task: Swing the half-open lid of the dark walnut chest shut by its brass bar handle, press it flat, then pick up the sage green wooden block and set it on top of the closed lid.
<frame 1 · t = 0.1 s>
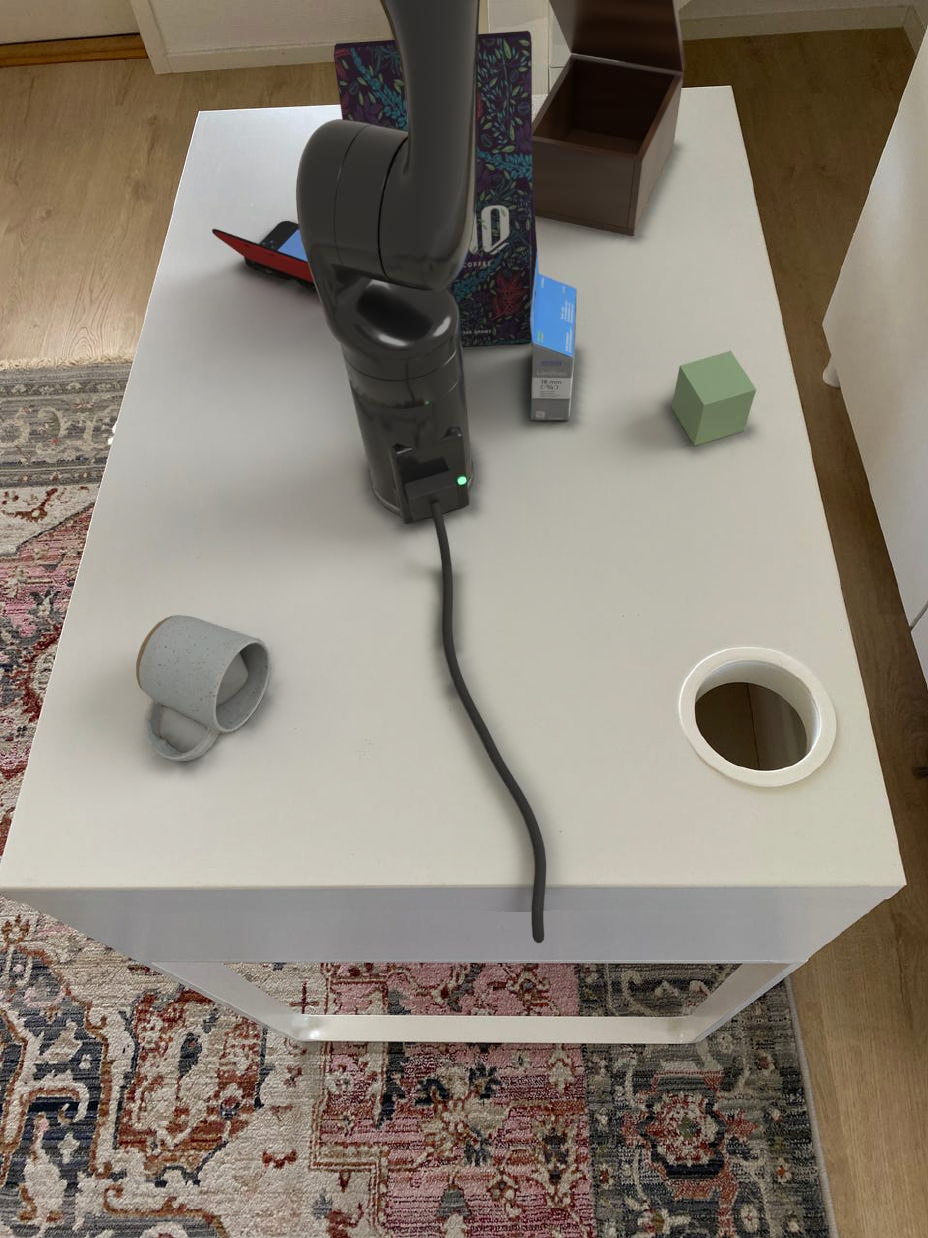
chest: (599, 180, 106), on the table
handheld console: (303, 274, 101), on the table
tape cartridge: (552, 388, 91), on the table
ceramic mug: (211, 706, 76), on the table
coffee bag: (455, 322, 96), on the table
block: (707, 419, 88), on the table
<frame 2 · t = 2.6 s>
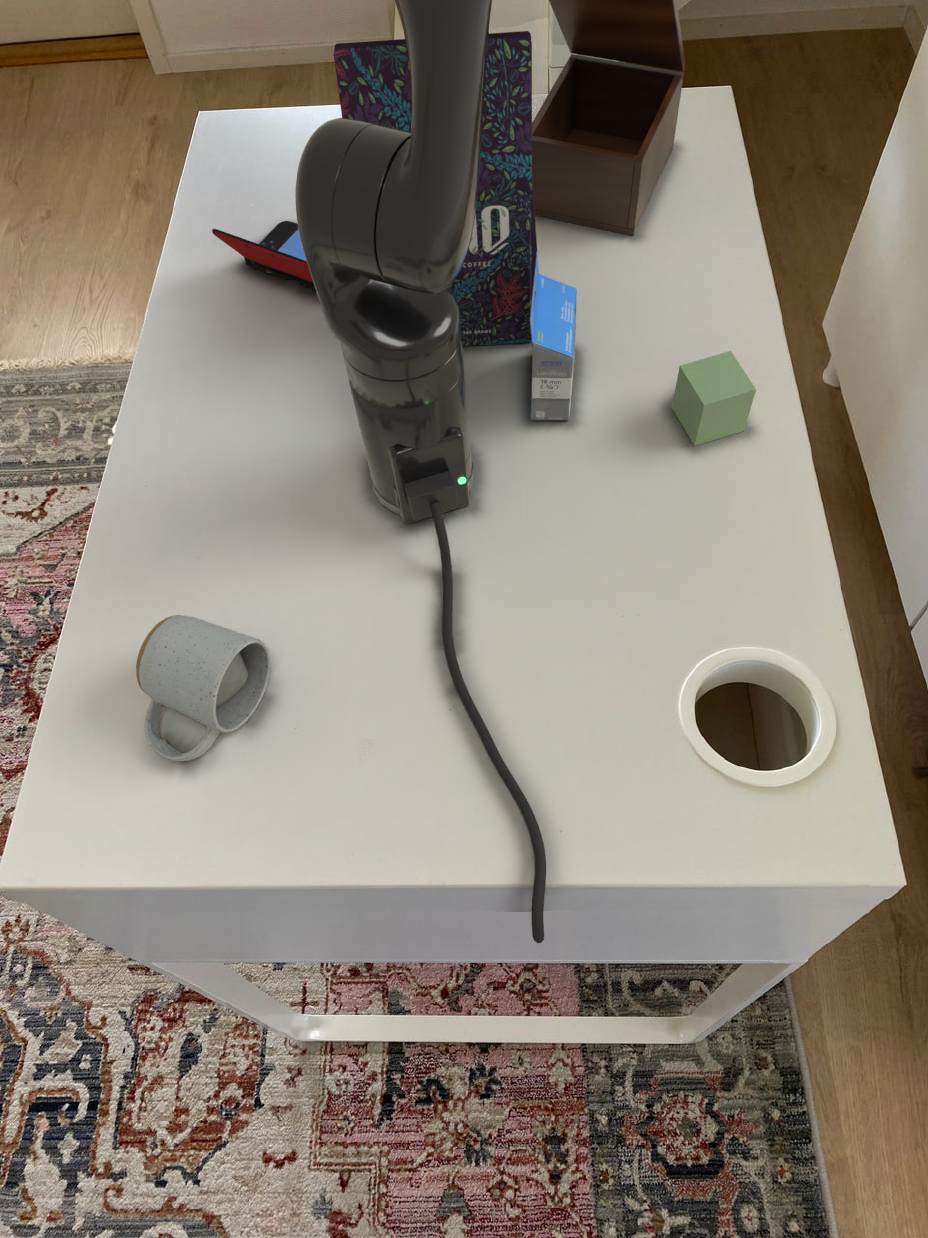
everything else where it was.
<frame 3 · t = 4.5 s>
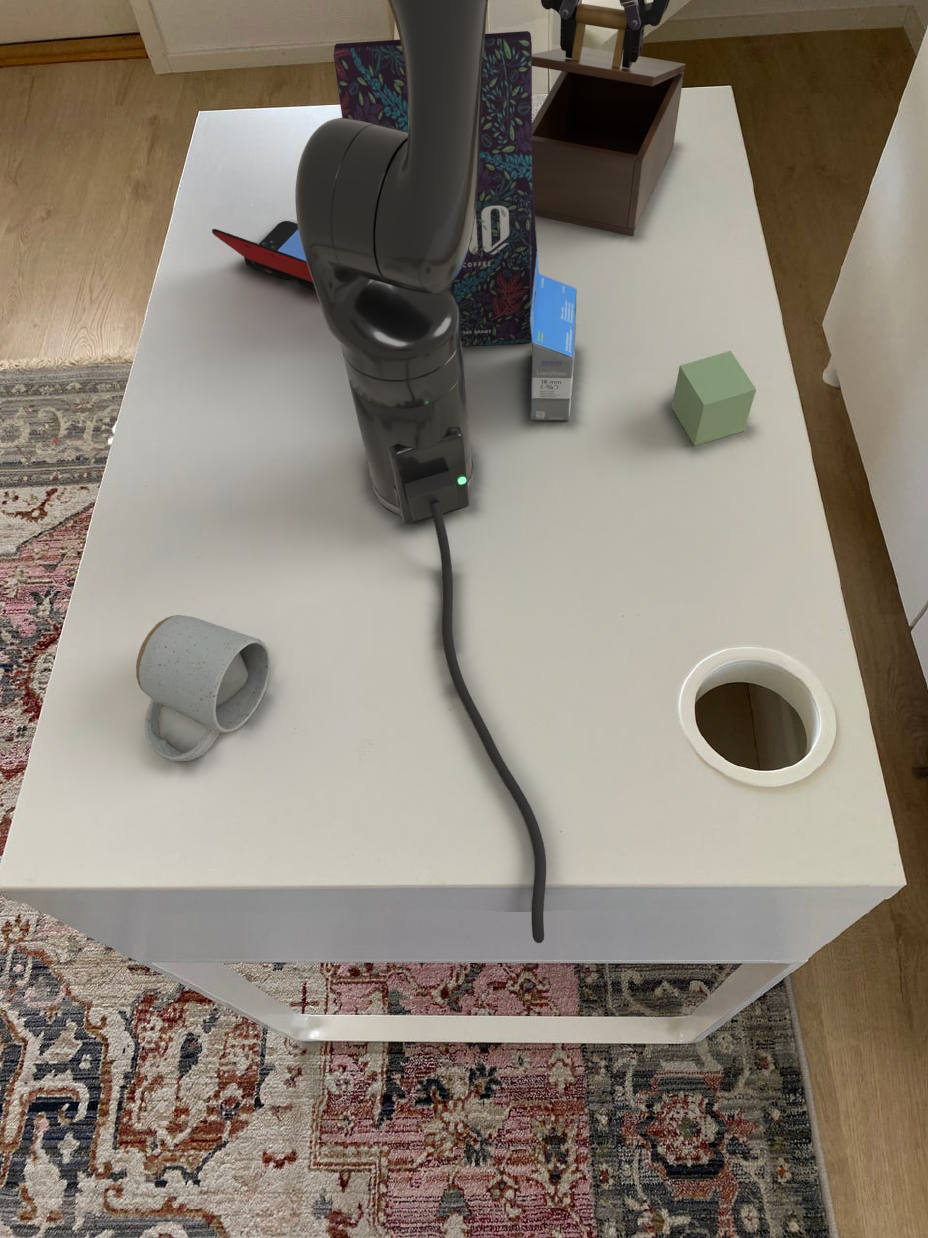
hand: (600, 57, 91), 15 cm above the table, tool pointing down, fingers closed on lid, 5 cm apart
lid: (613, 37, 93), point 15 cm above the table, hinge at 25.5°, touching gripper
everything else where it was.
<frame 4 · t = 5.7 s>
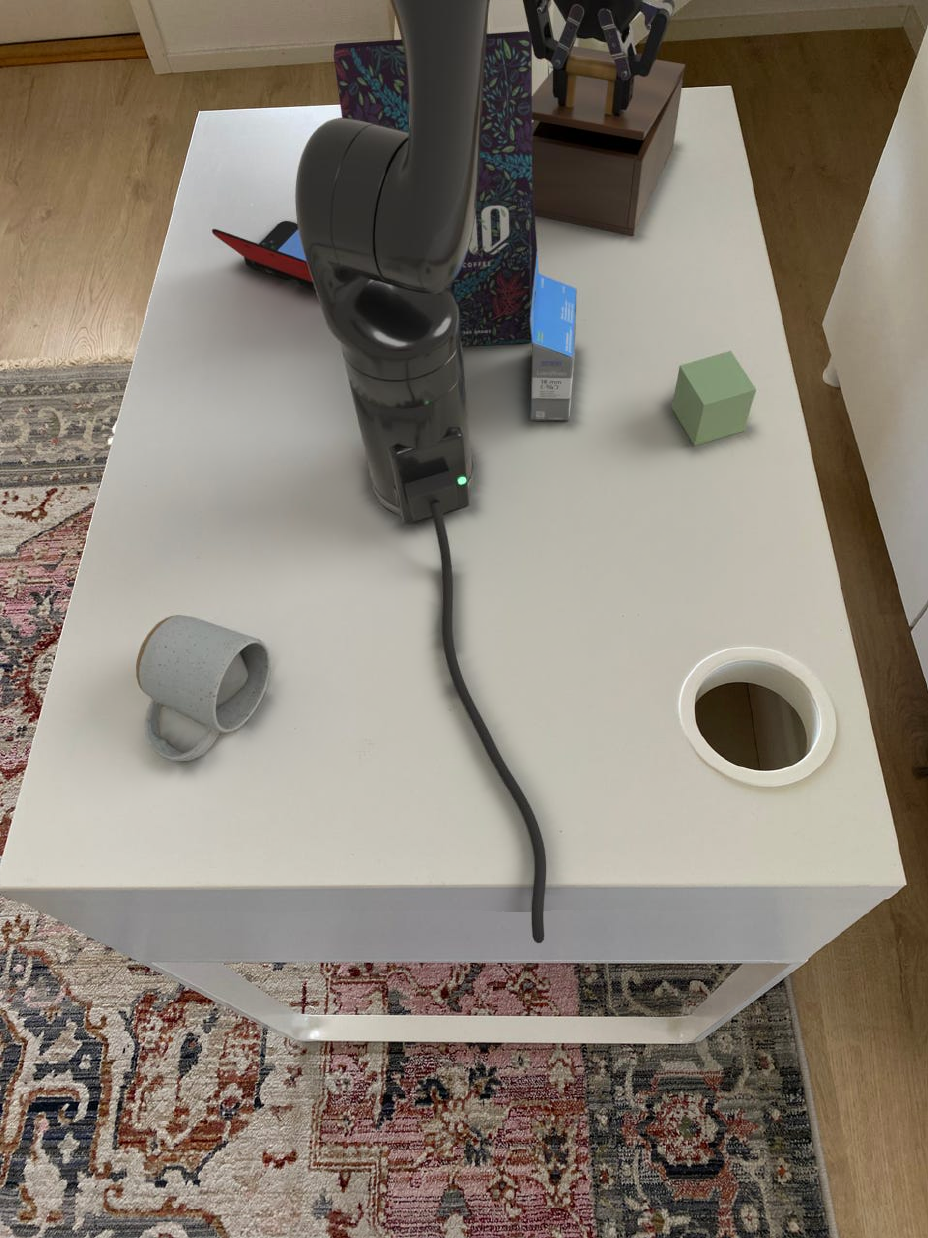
hand: (592, 104, 93), 12 cm above the table, tool pointing down, fingers closed on lid, 5 cm apart
lid: (608, 65, 94), point 13 cm above the table, hinge at 8.9°, touching gripper
everything else where it was.
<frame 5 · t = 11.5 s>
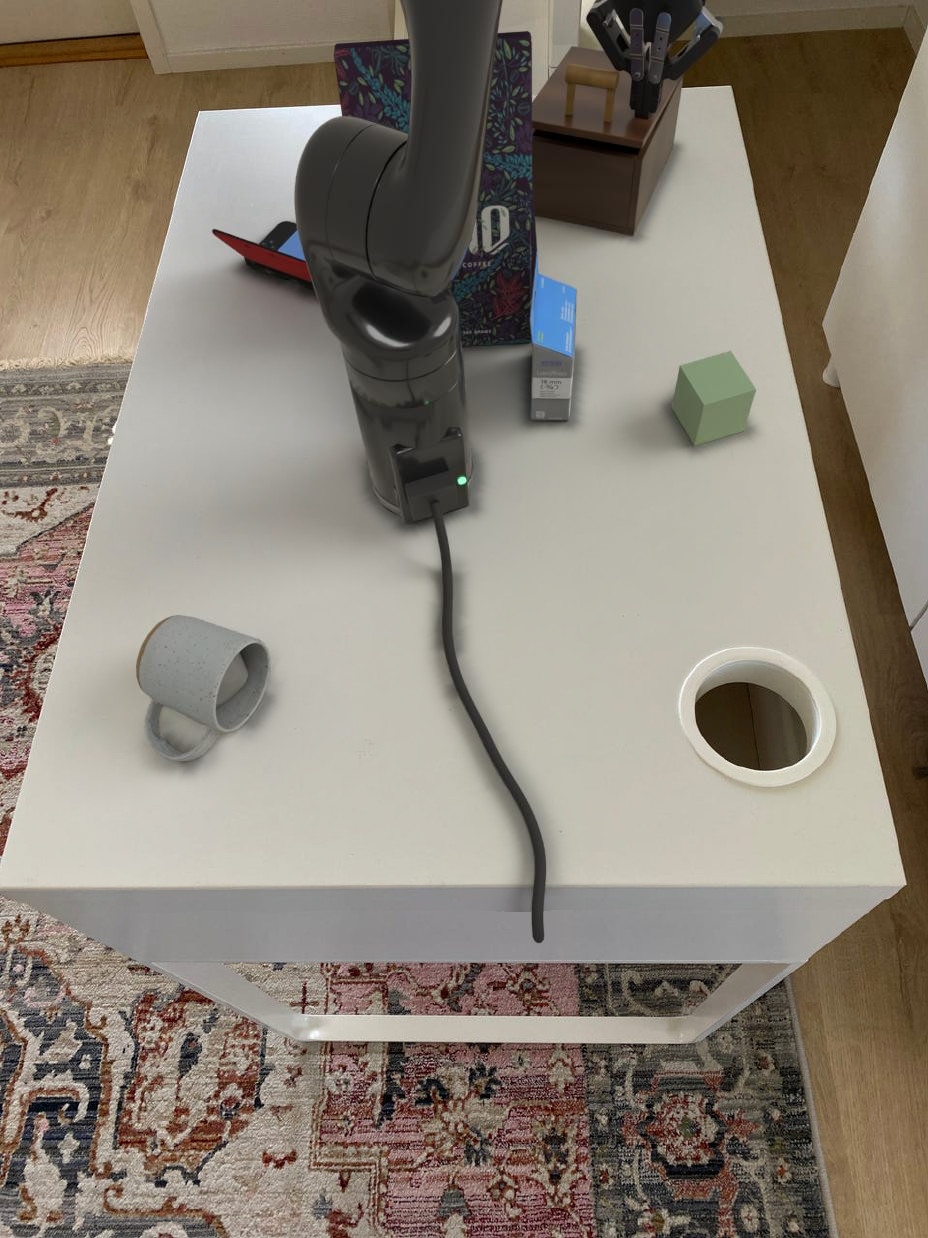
hand: (644, 112, 93), 11 cm above the table, tool pointing down, fingers closed
lid: (607, 70, 95), point 12 cm above the table, hinge at 6.0°, touching gripper
everything else where it was.
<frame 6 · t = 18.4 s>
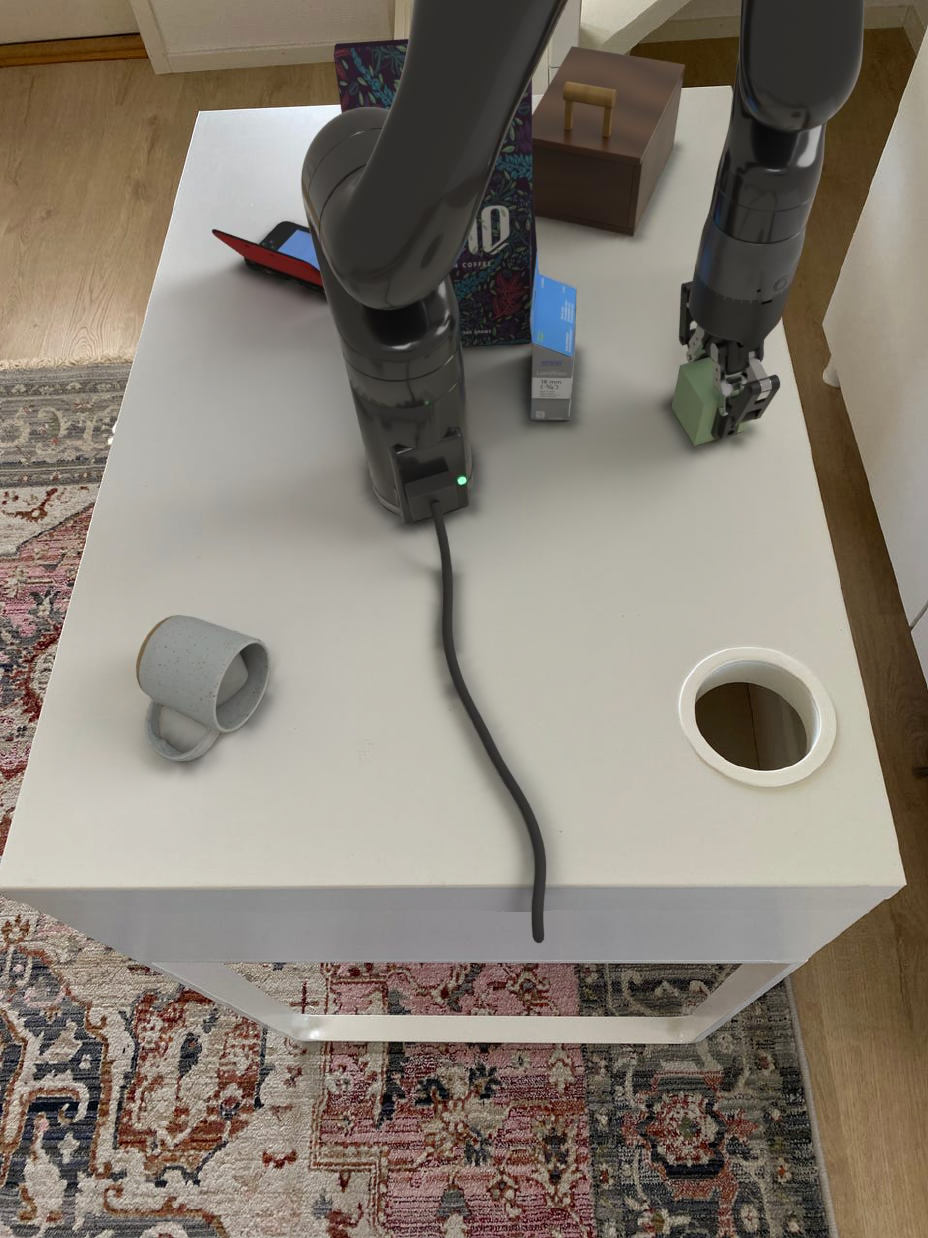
hand: (709, 412, 87), 1 cm above the table, tool pointing down, fingers closed on block, 5 cm apart
lid: (605, 80, 95), point 12 cm above the table, hinge at 0.0°
block: (707, 419, 88), on the table, touching gripper
everything else where it was.
when the fingers open (11 cm above the table, at t = 27.5 s): block stays where it is, resting on lid.
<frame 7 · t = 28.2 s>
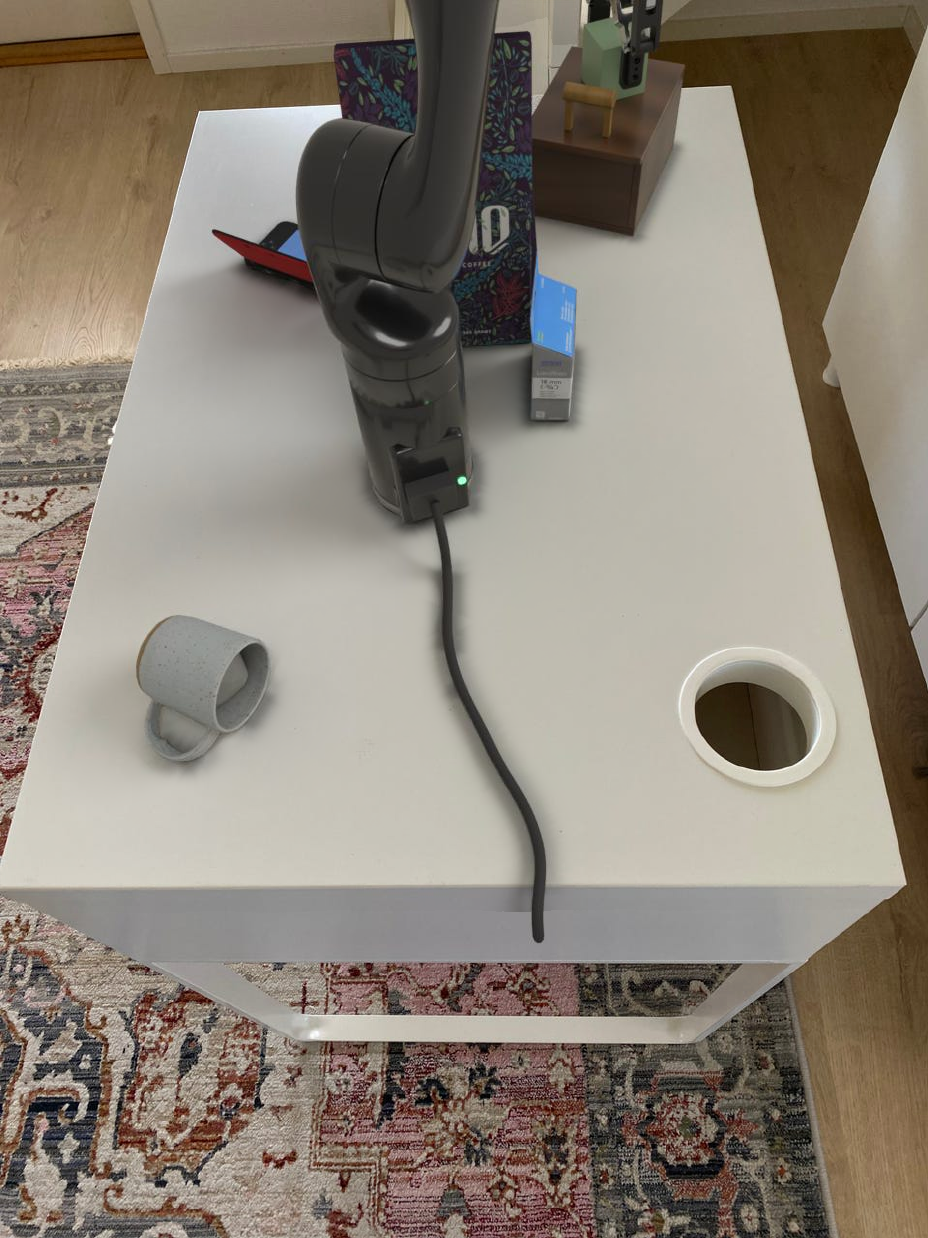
hand: (613, 63, 96), 12 cm above the table, tool pointing down, fingers open, 8 cm apart
lid: (605, 80, 95), point 12 cm above the table, hinge at -0.1°, touching block
block: (612, 85, 98), point 10 cm above the table, touching lid
everything else where it was.
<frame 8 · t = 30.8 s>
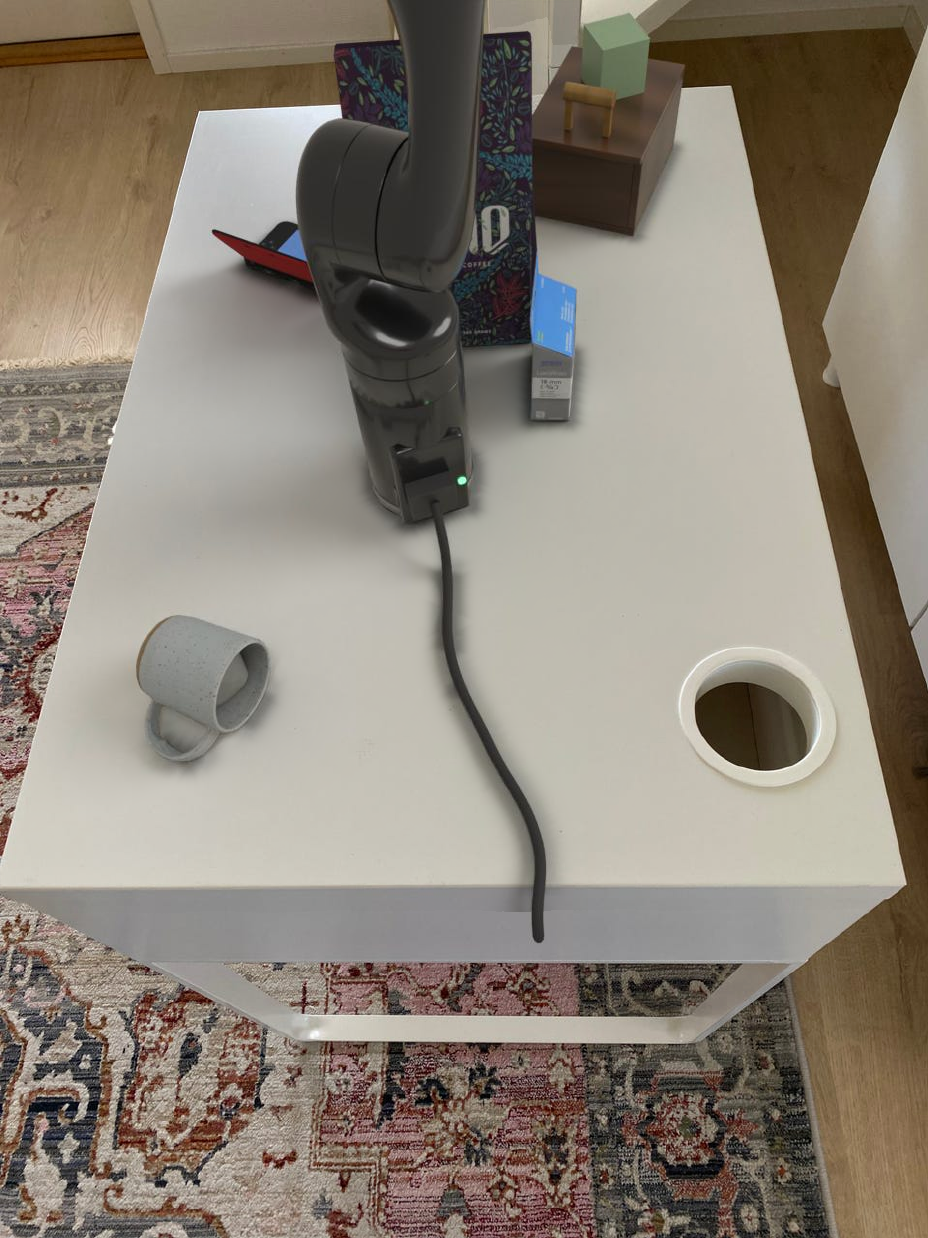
nothing on the table moved.
at the end: lid at +0° (first picture: +50°); block inside the target area on the chest (2.1 cm from its centre), point 9.6 cm above the chest's base; block tilted 0° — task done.
